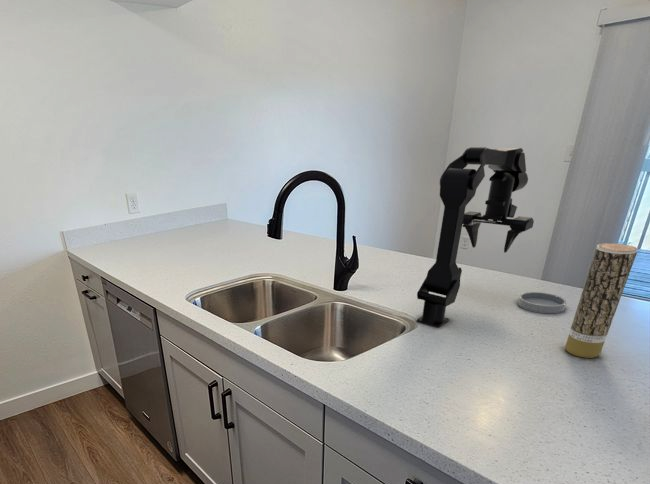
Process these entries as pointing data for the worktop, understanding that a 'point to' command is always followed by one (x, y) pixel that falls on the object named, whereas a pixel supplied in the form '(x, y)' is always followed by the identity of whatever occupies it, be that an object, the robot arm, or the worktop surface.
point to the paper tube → (600, 298)
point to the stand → (542, 302)
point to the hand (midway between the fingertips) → (489, 249)
